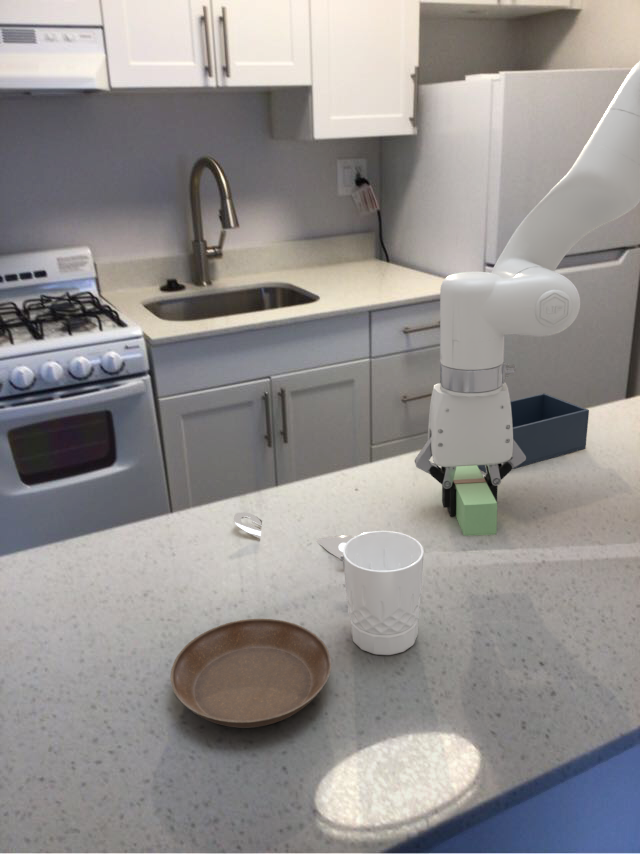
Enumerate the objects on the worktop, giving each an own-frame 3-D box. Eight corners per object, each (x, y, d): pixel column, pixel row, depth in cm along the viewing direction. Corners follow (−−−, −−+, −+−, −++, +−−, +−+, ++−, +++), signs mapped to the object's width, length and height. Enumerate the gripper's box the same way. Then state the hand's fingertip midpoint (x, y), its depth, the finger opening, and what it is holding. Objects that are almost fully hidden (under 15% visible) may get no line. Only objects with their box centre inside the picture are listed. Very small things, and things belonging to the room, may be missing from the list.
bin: (541, 429, 129) (544, 392, 126) (585, 448, 120) (589, 409, 118) (450, 453, 121) (451, 414, 118) (490, 475, 112) (492, 434, 110)
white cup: (331, 643, 77) (327, 557, 73) (370, 604, 83) (368, 523, 79) (400, 669, 72) (399, 580, 69) (435, 626, 78) (437, 542, 75)
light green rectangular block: (474, 490, 105) (474, 459, 103) (496, 536, 93) (497, 502, 91) (444, 491, 105) (444, 461, 103) (463, 538, 93) (463, 504, 91)
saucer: (265, 620, 81) (263, 599, 80) (365, 687, 70) (364, 663, 69) (143, 688, 71) (139, 664, 70) (237, 775, 61) (234, 749, 60)
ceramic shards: (223, 507, 97) (246, 493, 101) (224, 531, 99) (247, 516, 102) (356, 555, 87) (377, 538, 91) (355, 581, 89) (375, 563, 92)
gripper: (531, 363, 95) (525, 493, 102) (398, 371, 95) (401, 501, 102) (549, 381, 88) (541, 520, 95) (406, 390, 88) (408, 528, 95)
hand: (469, 509), depth 98 cm, fingers closed on light green rectangular block, 4 cm apart
